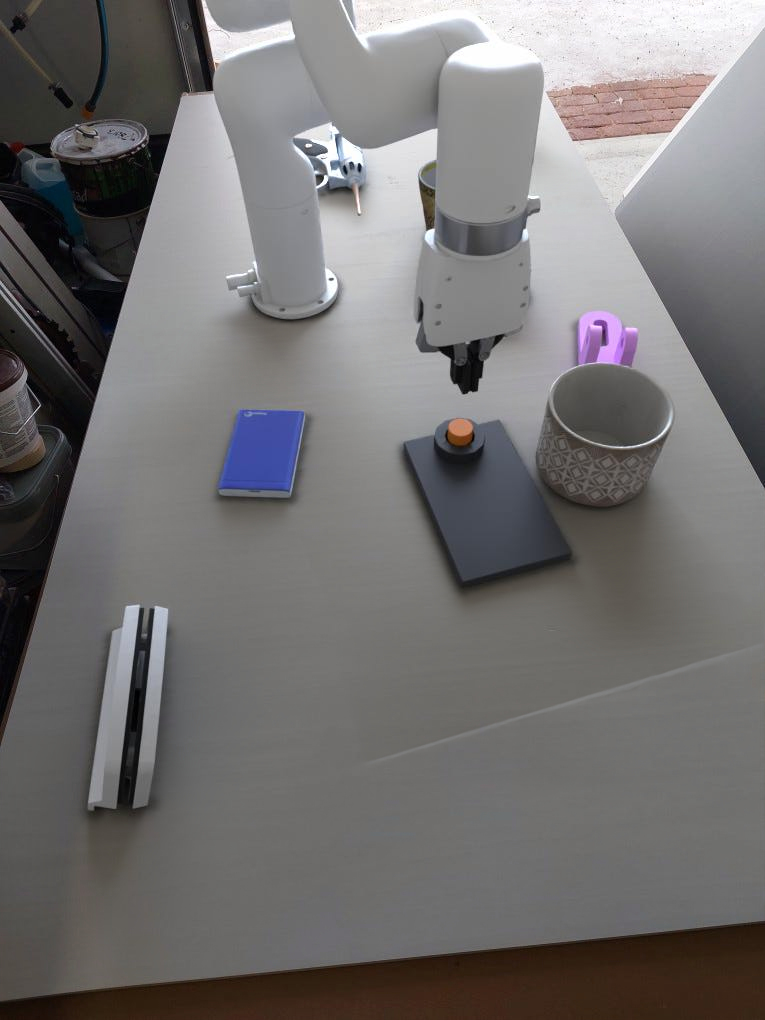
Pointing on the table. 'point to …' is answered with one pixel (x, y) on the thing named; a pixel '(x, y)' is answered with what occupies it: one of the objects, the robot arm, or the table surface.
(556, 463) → the planter
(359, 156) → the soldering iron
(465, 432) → the button
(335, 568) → the table surface
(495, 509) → the scale
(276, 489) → the hard drive
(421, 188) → the ceramic cup
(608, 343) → the bracket
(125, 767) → the white slotted block
